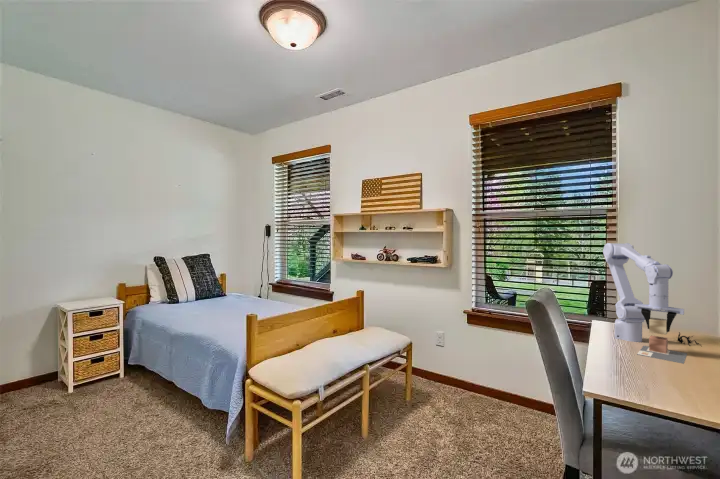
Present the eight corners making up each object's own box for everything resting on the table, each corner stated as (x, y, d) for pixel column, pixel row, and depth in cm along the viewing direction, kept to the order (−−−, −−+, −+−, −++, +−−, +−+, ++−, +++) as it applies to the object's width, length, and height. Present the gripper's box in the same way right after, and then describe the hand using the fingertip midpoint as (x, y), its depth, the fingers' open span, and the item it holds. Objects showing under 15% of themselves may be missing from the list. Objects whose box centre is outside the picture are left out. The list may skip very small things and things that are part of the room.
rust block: (649, 350, 135) (649, 337, 135) (651, 347, 139) (651, 335, 138) (666, 353, 131) (666, 340, 131) (667, 350, 135) (667, 338, 135)
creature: (700, 348, 144) (675, 340, 150) (704, 336, 143) (679, 328, 149) (700, 352, 139) (674, 344, 144) (704, 340, 138) (678, 332, 143)
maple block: (649, 332, 135) (649, 319, 135) (651, 329, 138) (651, 317, 138) (666, 334, 131) (666, 321, 131) (667, 332, 135) (667, 319, 135)
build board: (636, 356, 130) (636, 354, 130) (643, 347, 141) (643, 345, 141) (683, 365, 121) (683, 363, 121) (687, 355, 132) (687, 353, 132)
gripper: (633, 294, 137) (633, 328, 137) (683, 298, 127) (682, 335, 127) (636, 292, 142) (636, 325, 142) (684, 296, 132) (684, 332, 132)
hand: (658, 329), depth 135 cm, fingers closed on maple block, 5 cm apart
